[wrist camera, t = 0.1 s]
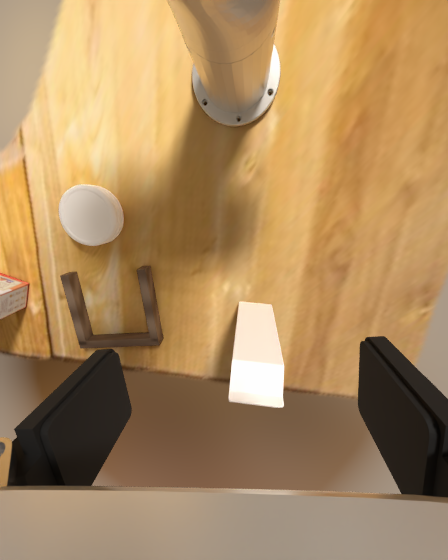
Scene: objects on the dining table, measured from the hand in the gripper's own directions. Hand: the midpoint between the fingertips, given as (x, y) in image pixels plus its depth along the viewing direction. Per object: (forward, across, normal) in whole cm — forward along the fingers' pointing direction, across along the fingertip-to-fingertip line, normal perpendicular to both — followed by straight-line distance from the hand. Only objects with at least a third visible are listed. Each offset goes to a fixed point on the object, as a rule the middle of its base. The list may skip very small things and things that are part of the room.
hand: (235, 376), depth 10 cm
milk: (+37, 0, +14) cm, 40 cm away
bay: (+37, +26, +10) cm, 46 cm away
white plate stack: (+37, +26, -7) cm, 46 cm away
